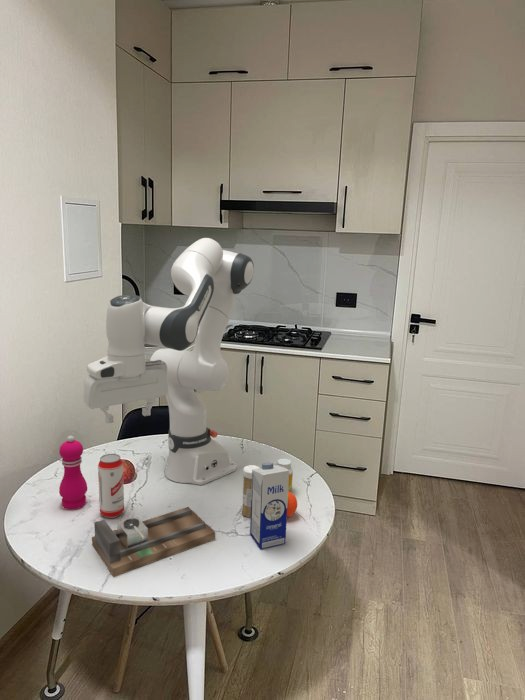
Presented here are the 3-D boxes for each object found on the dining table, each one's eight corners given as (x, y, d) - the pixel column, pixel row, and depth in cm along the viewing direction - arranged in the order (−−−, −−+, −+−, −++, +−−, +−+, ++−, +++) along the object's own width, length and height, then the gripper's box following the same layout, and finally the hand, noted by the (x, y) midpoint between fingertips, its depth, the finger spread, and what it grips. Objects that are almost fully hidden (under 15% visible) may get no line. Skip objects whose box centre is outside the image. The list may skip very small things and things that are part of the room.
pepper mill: (79, 512, 140) (75, 442, 136) (54, 508, 142) (50, 439, 137) (93, 499, 147) (90, 432, 143) (69, 495, 149) (65, 429, 144)
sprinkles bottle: (242, 508, 145) (243, 464, 142) (258, 509, 145) (260, 464, 142) (241, 518, 141) (242, 472, 137) (258, 518, 141) (260, 472, 137)
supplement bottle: (275, 496, 152) (276, 466, 150) (271, 487, 158) (273, 457, 155) (293, 495, 153) (295, 465, 151) (289, 486, 159) (290, 457, 156)
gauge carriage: (138, 531, 129) (137, 515, 128) (153, 550, 122) (153, 533, 121) (118, 537, 126) (117, 521, 125) (133, 557, 119) (132, 540, 118)
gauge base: (188, 513, 142) (188, 489, 140) (215, 539, 131) (215, 513, 129) (92, 544, 127) (91, 518, 125) (113, 576, 116) (112, 548, 114)
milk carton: (259, 549, 127) (262, 474, 123) (249, 534, 133) (251, 462, 129) (286, 543, 130) (290, 469, 125) (274, 529, 136) (278, 457, 131)
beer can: (128, 509, 143) (127, 455, 139) (115, 521, 137) (113, 465, 133) (109, 505, 145) (107, 451, 141) (94, 516, 139) (92, 460, 135)
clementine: (299, 524, 139) (300, 500, 137) (272, 525, 138) (274, 500, 136) (294, 508, 146) (296, 485, 145) (270, 508, 146) (271, 485, 144)
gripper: (161, 356, 134) (161, 407, 137) (80, 366, 122) (82, 422, 125) (172, 361, 129) (172, 415, 132) (88, 373, 117) (91, 431, 120)
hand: (128, 418), depth 129 cm, fingers open, 8 cm apart
